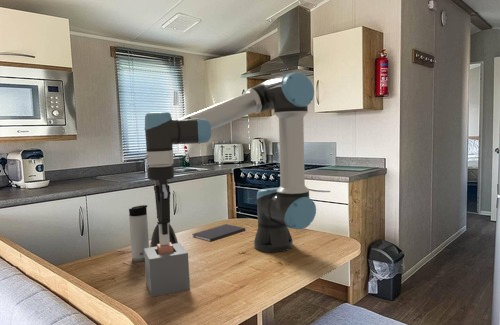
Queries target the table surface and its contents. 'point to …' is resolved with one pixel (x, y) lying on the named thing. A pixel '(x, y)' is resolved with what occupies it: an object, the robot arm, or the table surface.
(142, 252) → the travel mug
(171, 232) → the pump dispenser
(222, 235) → the notebook
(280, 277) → the table surface
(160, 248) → the peg
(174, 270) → the socket block
